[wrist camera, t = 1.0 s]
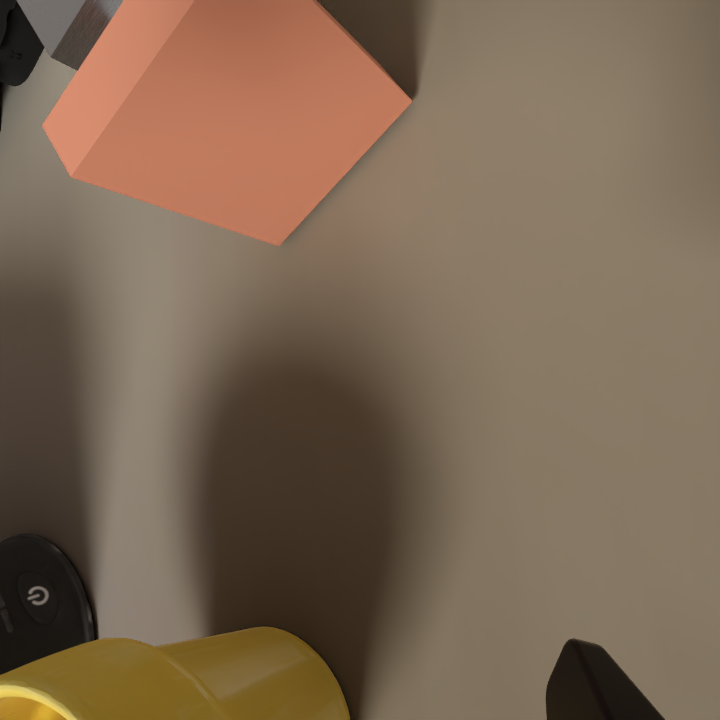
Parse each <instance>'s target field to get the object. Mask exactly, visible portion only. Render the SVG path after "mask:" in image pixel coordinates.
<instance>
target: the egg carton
mask: <svg viewBox="0 0 720 720" xmlns="http://www.w3.org/2000/svg"><path fill="white" fill-rule="evenodd" d="M43 49H44V45H43V44H42V42H41V40H40V39H39V37H38V35H37V34H36V32H35V30H34V29H33V27H32V25H31V24H30V22H29V20H28V19H27V17H26V15H25V14H24V12H23V10H22V9H21V7H20V5H19V4H18V2H17V0H0V86H1V84H2V82H3V83H6V84H9V85H12V86H18V85H21V84H22V83H23V82H25V81H26V79H27V78H28V77H29V75H30V73H31V72H32V70H33V68H34V67H35V65H36V63H37V61H38V59H39V57H40V55H41V53H42V51H43ZM0 122H1V113H0ZM0 131H1V125H0Z"/></svg>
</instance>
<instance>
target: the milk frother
mask: <svg viewBox="0 0 720 720" xmlns="http://www.w3.org/2000/svg"><path fill="white" fill-rule="evenodd" d="M94 638H95V636H94V629H93V621H92V613H91V610H90V606H89V603H88V601H87V598H86V593H85V591H84V589H83V586H82V584H81V581H80V579H79V577H78V575H77V573H76V572H75V570H74V568H73V566H72V564H71V563H70V562H69V560H68V559H67V558H66V557H65V556H64V554H63V553H62V552H61V551H60V550H59V549H58V548H56V547H55V546H54V545H53V544H52V543H50V542H48V541H47V540H46V539H44V538H42V537H39V536H36V535H32V534H20V535H16V536H12V537H10V538H7V539H6V540H4V541H2V542H1V543H0V675H2V674H4V673H7V672H9V671H12V670H14V669H16V668H19V667H21V666H24V665H26V664H28V663H31V662H33V661H36V660H39V659H41V658H44V657H47V656H49V655H52V654H55V653H57V652H60V651H63V650H66V649H69V648H72V647H75V646H78V645H81V644H84V643H87V642H91V641H94Z"/></svg>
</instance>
